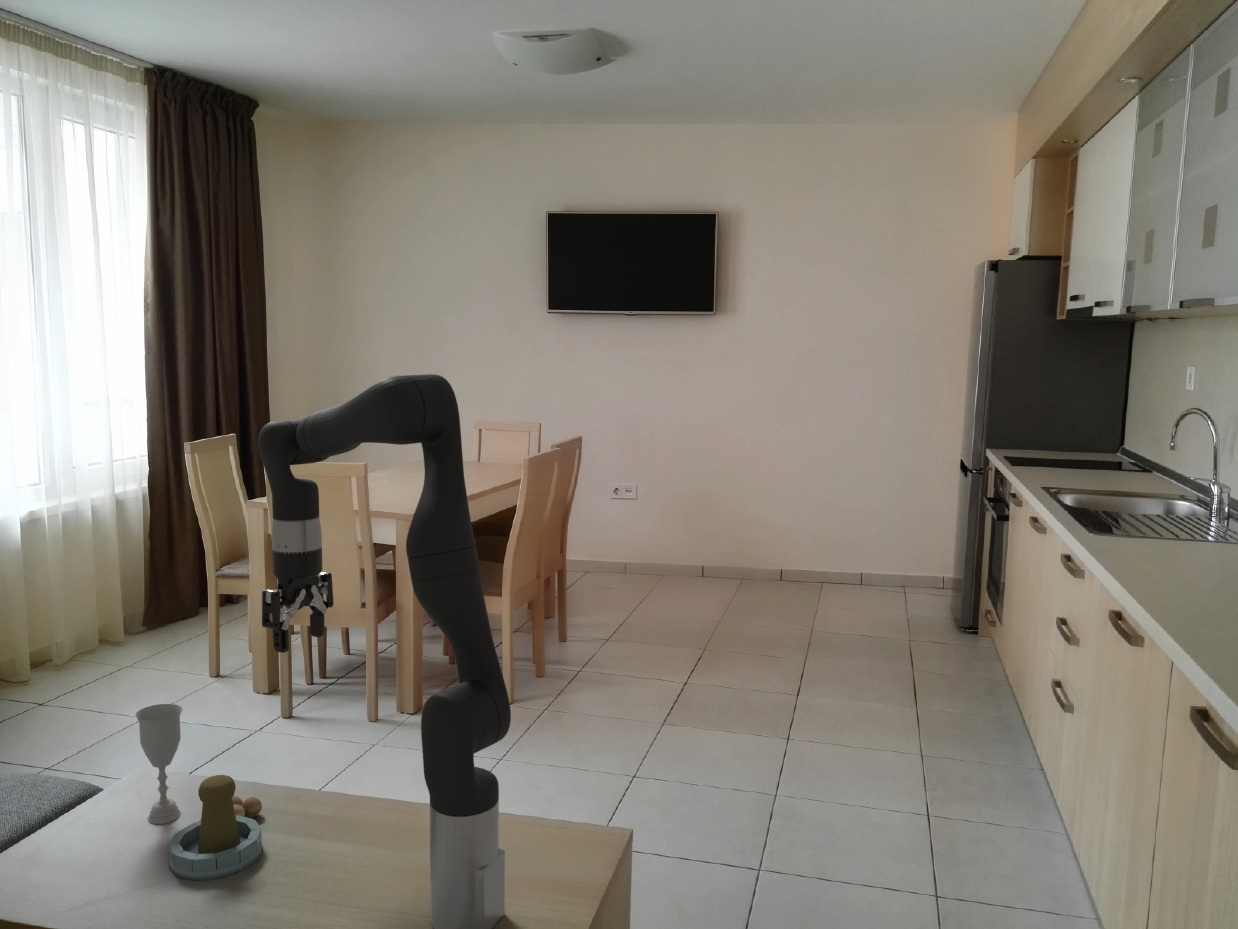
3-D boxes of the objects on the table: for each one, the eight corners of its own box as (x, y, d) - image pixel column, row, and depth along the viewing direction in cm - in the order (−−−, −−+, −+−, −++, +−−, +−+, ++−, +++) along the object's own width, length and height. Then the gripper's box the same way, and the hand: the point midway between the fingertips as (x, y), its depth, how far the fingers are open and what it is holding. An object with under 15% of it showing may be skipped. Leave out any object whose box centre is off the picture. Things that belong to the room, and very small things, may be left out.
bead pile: (265, 811, 157) (265, 793, 156) (250, 829, 151) (250, 811, 150) (227, 810, 157) (227, 792, 156) (211, 828, 151) (210, 810, 150)
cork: (224, 860, 140) (221, 790, 138) (189, 854, 141) (185, 785, 139) (248, 839, 145) (246, 772, 144) (214, 834, 147) (211, 767, 145)
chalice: (196, 813, 155) (191, 710, 153) (157, 831, 150) (152, 724, 147) (170, 801, 159) (165, 700, 157) (131, 818, 153) (126, 713, 151)
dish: (280, 844, 146) (279, 825, 146) (217, 888, 134) (216, 867, 134) (215, 827, 151) (215, 808, 151) (149, 868, 139) (148, 848, 139)
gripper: (285, 556, 141) (289, 660, 143) (344, 538, 154) (346, 634, 156) (246, 552, 143) (249, 654, 145) (307, 535, 156) (310, 628, 158)
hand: (300, 643), depth 151 cm, fingers open, 8 cm apart
